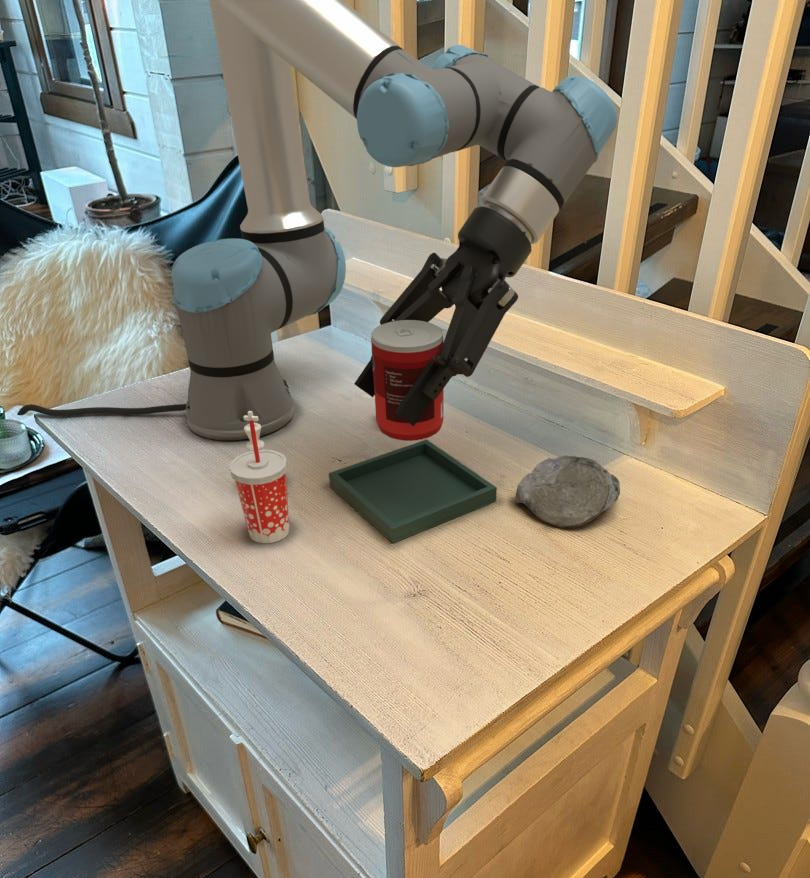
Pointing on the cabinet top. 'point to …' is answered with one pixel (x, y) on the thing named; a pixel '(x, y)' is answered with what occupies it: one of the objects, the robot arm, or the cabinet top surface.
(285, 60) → the robot arm
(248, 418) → the chess piece
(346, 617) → the cabinet top surface
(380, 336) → the canned food
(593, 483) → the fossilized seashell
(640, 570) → the cabinet top surface
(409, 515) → the tray
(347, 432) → the cabinet top surface
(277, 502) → the beverage cup
